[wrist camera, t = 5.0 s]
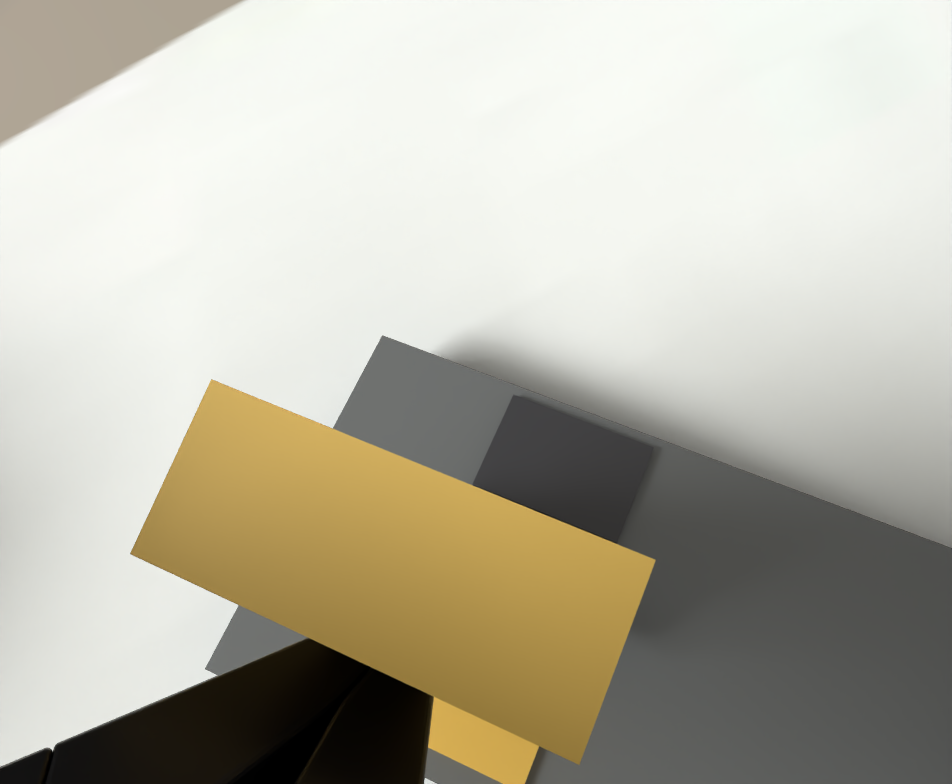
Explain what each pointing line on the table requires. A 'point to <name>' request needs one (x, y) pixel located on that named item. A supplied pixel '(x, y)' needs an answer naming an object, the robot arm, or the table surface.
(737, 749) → the grey switch base
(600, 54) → the table surface
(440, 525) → the rocker amber
